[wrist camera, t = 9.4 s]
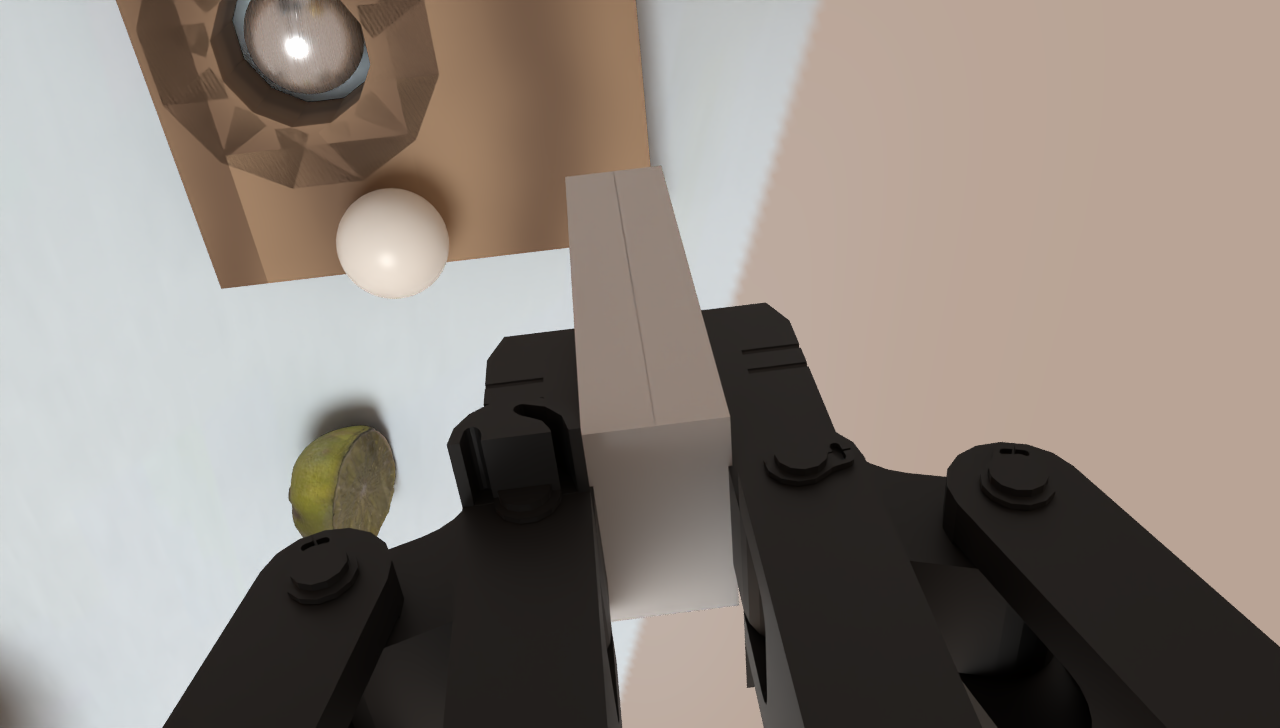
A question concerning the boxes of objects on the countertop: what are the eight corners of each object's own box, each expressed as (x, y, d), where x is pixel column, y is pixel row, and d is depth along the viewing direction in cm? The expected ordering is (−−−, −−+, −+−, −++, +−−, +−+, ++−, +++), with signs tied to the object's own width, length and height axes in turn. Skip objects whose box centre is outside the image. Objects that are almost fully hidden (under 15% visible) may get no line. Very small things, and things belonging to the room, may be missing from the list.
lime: (354, 389, 39) (331, 468, 35) (435, 463, 42) (424, 545, 37) (273, 445, 40) (242, 528, 36) (358, 514, 43) (338, 599, 39)
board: (239, 256, 36) (221, 288, 34) (74, -223, 28) (35, -219, 25) (650, 207, 36) (656, 237, 34) (605, -279, 28) (611, -280, 26)
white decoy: (360, 273, 34) (343, 325, 31) (334, 177, 32) (312, 223, 29) (461, 261, 34) (454, 311, 31) (441, 165, 32) (431, 208, 29)
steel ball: (252, 111, 29) (372, 98, 30) (222, -14, 28) (349, -25, 28) (266, 86, 32) (375, 76, 33) (239, -28, 31) (355, -38, 31)
